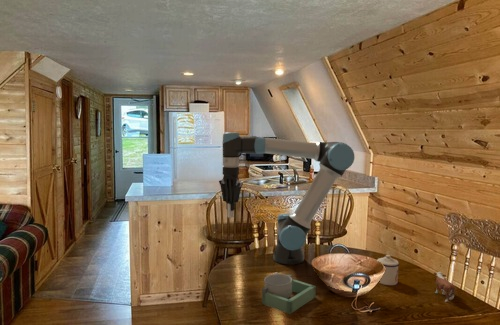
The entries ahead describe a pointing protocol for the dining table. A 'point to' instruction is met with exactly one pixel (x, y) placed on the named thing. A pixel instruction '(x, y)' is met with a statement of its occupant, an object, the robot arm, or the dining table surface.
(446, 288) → the bull figurine
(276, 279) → the teacup
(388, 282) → the teacup with lid
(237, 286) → the dining table surface
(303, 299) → the tray
